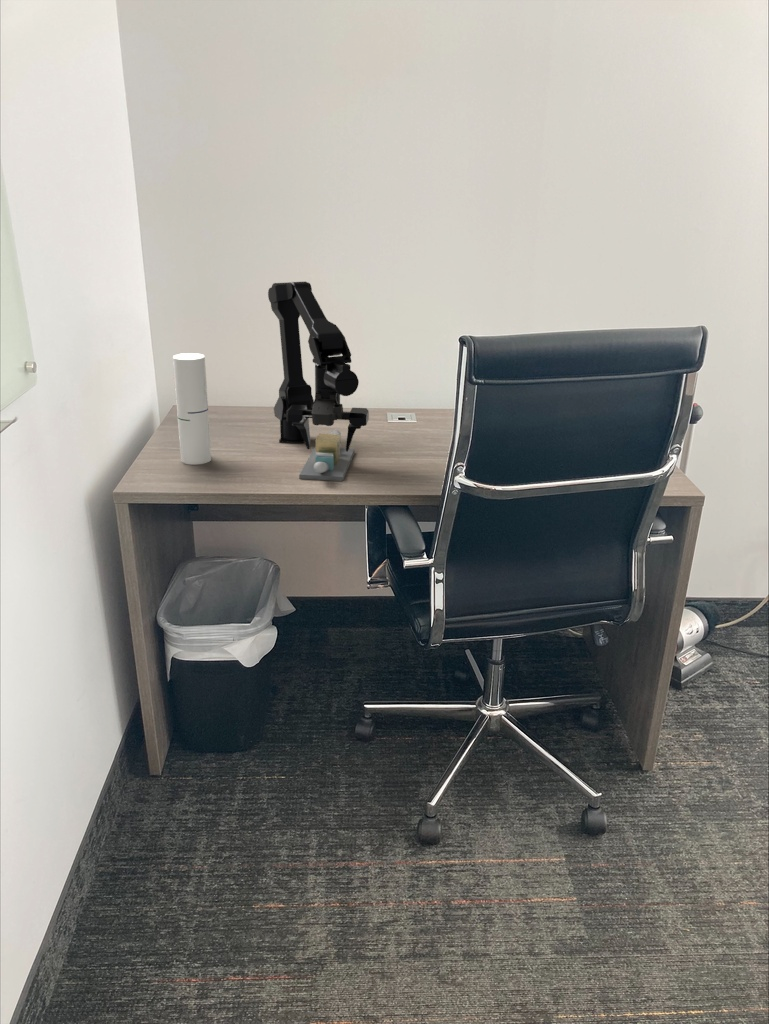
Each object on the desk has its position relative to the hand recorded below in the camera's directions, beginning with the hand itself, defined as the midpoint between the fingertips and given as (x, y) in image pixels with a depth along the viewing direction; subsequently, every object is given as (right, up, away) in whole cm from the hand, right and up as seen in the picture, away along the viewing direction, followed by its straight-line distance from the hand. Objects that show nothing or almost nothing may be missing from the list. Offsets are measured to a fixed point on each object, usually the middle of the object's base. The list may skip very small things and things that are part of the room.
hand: (328, 450), depth 192 cm
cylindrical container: (-32, -2, +3) cm, 32 cm away
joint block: (0, -3, +1) cm, 3 cm away
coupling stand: (0, -3, +1) cm, 4 cm away
